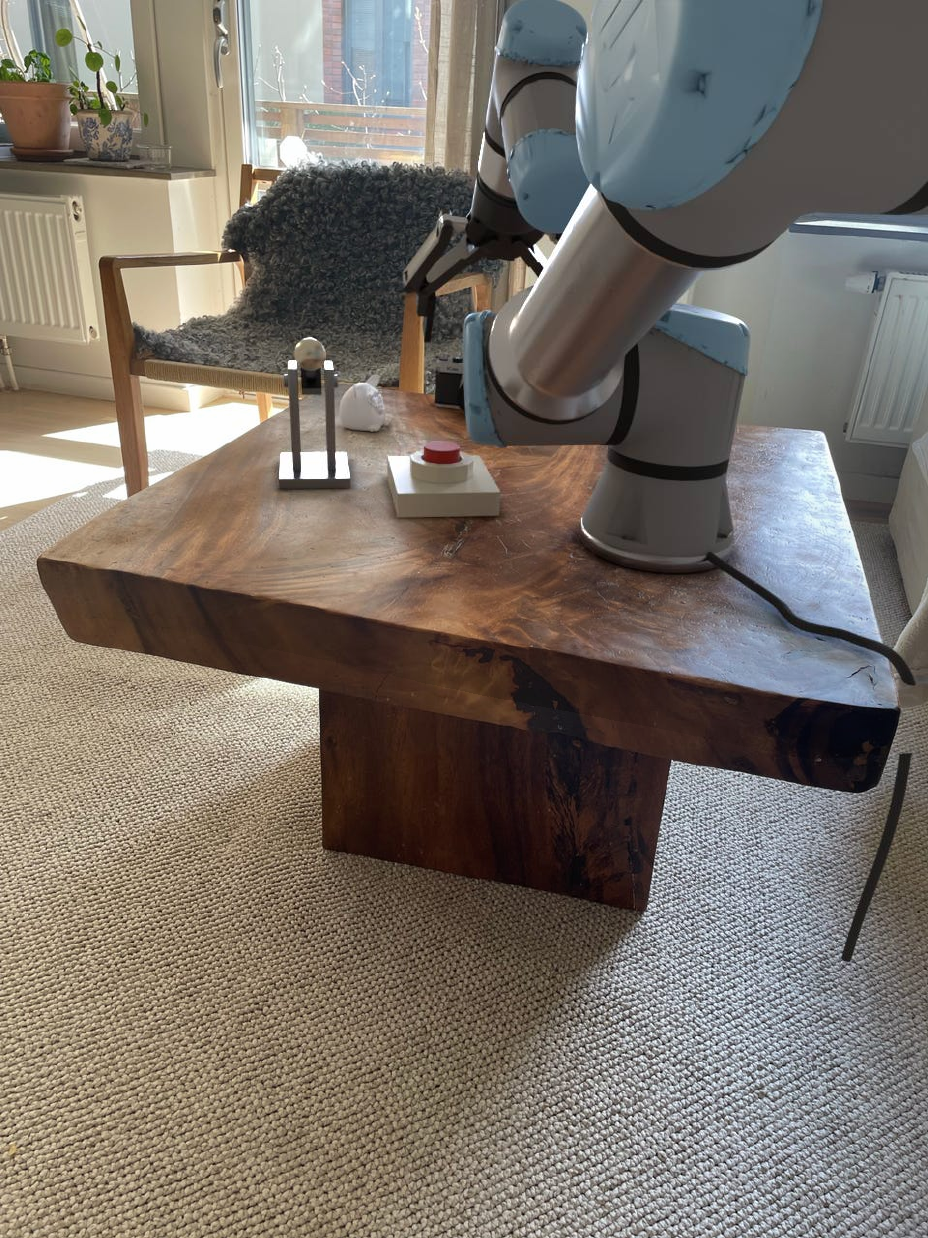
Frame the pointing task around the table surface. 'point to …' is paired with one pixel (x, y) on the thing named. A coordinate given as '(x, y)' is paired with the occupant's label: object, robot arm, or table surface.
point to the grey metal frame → (313, 466)
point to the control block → (441, 487)
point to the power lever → (310, 364)
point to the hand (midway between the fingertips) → (482, 334)
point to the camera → (449, 383)
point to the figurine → (363, 407)
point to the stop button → (442, 452)
